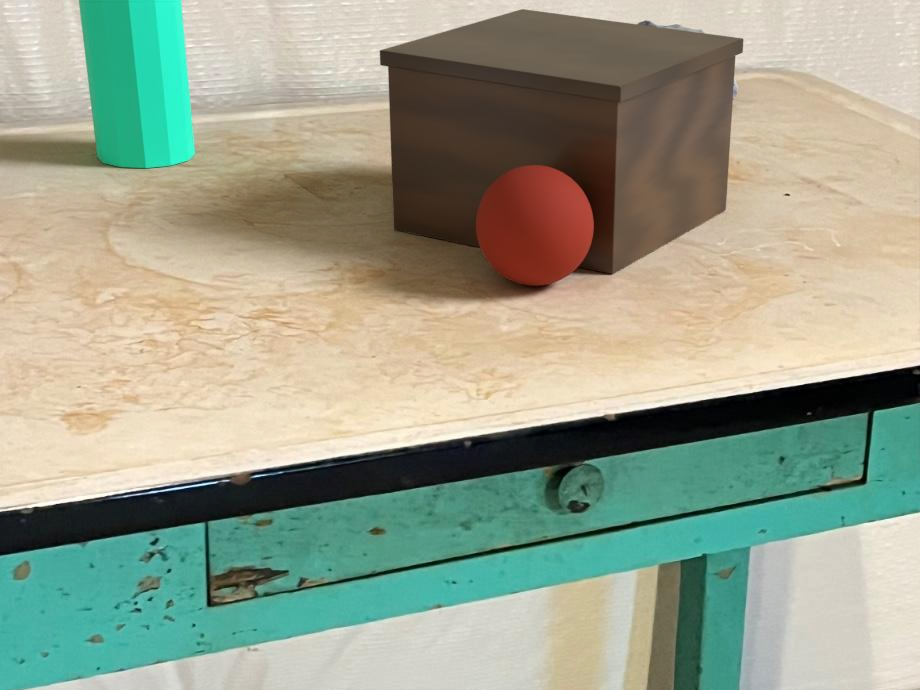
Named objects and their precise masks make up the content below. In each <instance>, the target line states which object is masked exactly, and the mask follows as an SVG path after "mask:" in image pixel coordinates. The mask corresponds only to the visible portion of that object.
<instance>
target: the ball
mask: <svg viewBox="0 0 920 690" xmlns="http://www.w3.org/2000/svg"><path fill="white" fill-rule="evenodd" d="M593 231H594V220H593V213H592V210H591V206H590V203H589V201H588V199H587V197H586V195H585V193H584V192H583V190H582V189H581V188H580V187H579V185H578V184H577V183H576V182H575V181H574V180H573V179H572V178H570V177H569V176H567V175H566V174H564V173H563V172H561V171H559V170H557V169H554V168H551V167H547V166H541V165H528V166H522V167H518V168H515V169H513V170H510V171H508V172H506V173H505V174H503V175H501V176H500V177H499V178H498V179H496V180H495V181H494V182H493V183H492V184H491V185H490V187H489V188H488V189H487V191H486V192H485V194H484V196H483V197H482V199H481V202H480V205H479V208H478V212H477V218H476V232H477V239H478V242H479V246H480V247H479V248H480V250H481V253H482V254H483V256H484V258H485V259H486V261H487V262H488V263H489V265H490V266H491V267H492V268H493V269H494V271H496V272H497V273H498V274H500V275H501V276H503V277H504V278H505V279H507V280H510V281H512V282H514V283H516V284H521V285H523V286H524V285H525V286H534V287H535V286H536V287H537V286H546V285H551V284H553V283H556V282H559V281H562V280H563V279H564V278H567V277H568V276H569V275H571V274H572V273H573V272H574V271H576V269H578V268H579V267H578V266H579V265H580V264H581V262H582V261H583V260H584V258H585V256H586V254H587V253H588V251H589V248H590V245H591V242H592V238H593Z"/></svg>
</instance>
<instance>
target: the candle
mask: <svg viewBox="0 0 920 690" xmlns="http://www.w3.org/2000/svg"><path fill="white" fill-rule="evenodd" d="M78 5H79V15H80V21H81V32H82V39H83V49H84V56H85V65H86V73H87V80H88V81H87V82H88V83H87V84H88V91H89V97H90V98H89V99H90V106H91V107H90V108H91V115H92V116H91V117H92V125H93V133H94V140H95V142H94V143H95V148H96V149H95V150H96V157H97V158H98V160H99V161H101V162H102V163H103V164H105V165H110V166H115V167H118V168H133V169H151V168H160V167H171V166H174V165H178V164H181V163H184V162H189V161H190V160H191V159H192V158H193V157H194V156H195V155H196V150H195V141H194V140H195V138H194V128H193V127H194V126H193V116H192V105H191V94H190V83H189V74H188V61H187V51H186V38H185V28H184V17H183V7H182V5H183V4H182V0H78Z"/></svg>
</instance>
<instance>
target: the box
mask: <svg viewBox="0 0 920 690" xmlns="http://www.w3.org/2000/svg"><path fill="white" fill-rule="evenodd" d="M743 51H744V38H742V37H735V36H727V35H719V34H713V33H707V32H706V33H705V32H704V33H698V32H690V31H683V30H675V29H668V28H660V27H653V26H645V25H638V23H630V22H621V21H615V20H607V19H600V18H592V17H585V16H577V15H571V14H563V13H562V14H561V13H554V12H548V11H547V12H546V11H538V10H532V9H524V8H521V9H517V10H514V11H511V12H507V13H504V14H501V15H497V16H493V17H490V18H487V19H484V20H480V21H479V20H478V21H476V22H473V23H470V24H466V25H463V26H459V27H455V28H453V29H452V28H451V29H449V30H444V31H442V32H438V33H434V34H432V35H428V36H425V37H422V38H417V39H414V40H410V41H407V42H404V43H400V44H397V45H394V46H390V47H387V48H383V49H380V50H379V65H380V66H383V67H387V74H388V75H387V77H388V107H389V131H390V132H389V133H390V135H389V136H390V156H391V157H390V159H391V161H390V163H391V164H390V166H391V188H392V190H391V191H392V194H391V195H392V216H393V218H392V219H393V221H392V222H393V231H398V232H403V233H408V234H413V235H418V236H423V237H429V238H431V239H433V238H434V239H437V240H443V241H447V242H453V243H457V244H463V245H468V246H472V247H478V248H480V246H479V242H478V239H477V232H476V218H477V212H478V208H479V205H480V202H481V199H482V197H483V196H484V194H485V192H486V191H487V189H488V188H489V187H490V185H491V184H492V183H493V182H494V181H495V180H496V179H498V178H499V177H500V176H501V175H503V174H505V173H506V172H508V171H510V170H513V169H515V168H518V167H522V166H528V165H541V166H547V167H551V168H554V169H557V170H559V171H561V172H563V173H564V174H566V175H567V176H569V177H570V178H572V179H573V180H574V181H575V182H576V183H577V184H578V185H579V187H580V188H581V189H582V190H583V192H584V193H585V195H586V197H587V199H588V201H589V203H590V206H591V210H592V213H593V220H594V231H593V238H592V242H591V245H590V248H589V251H588V253H587V254H586V256H585V258H584V260H583V261H582V262H581V264H580V265H579V266H578V267H577V268H580V269H586V270H591V271H596V272H600V273H605V274H609V275H613V274H616V273H618V271H620V270H622V269H624V268H626V267H628V266H630V265H631V264H633V263H635V262H636V261H638V260H640V259H642V258H644V257H645V256H647V255H649V254H651V253H653V252H654V251H656V250H657V249H659V248H662V247H663V246H665V245H667V244H669V243H670V242H672V241H674V240H675V239H678V238H679V237H681V236H682V235H684V234H686V233H688V232H690V231H692V230H693V229H694V228H697V227H698V226H700V225H702V224H704V223H705V222H707V221H709V220H711V219H713V218H714V217H716V216H718V215H719V214H722V213H724V212H725V211H726V210H727V197H728V196H727V195H728V182H729V181H728V180H729V167H730V166H729V165H730V164H729V163H730V150H731V149H730V148H731V135H732V134H731V133H732V117H733V102H734V100H733V87H734V79H735V70H736V56H738V55H741V54H743V53H744V52H743Z"/></svg>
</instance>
